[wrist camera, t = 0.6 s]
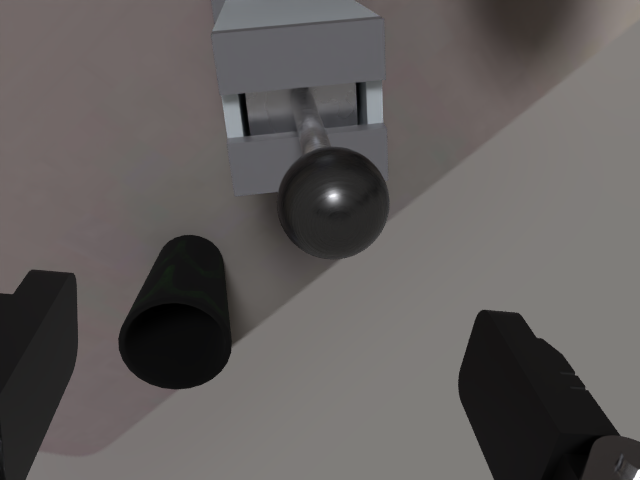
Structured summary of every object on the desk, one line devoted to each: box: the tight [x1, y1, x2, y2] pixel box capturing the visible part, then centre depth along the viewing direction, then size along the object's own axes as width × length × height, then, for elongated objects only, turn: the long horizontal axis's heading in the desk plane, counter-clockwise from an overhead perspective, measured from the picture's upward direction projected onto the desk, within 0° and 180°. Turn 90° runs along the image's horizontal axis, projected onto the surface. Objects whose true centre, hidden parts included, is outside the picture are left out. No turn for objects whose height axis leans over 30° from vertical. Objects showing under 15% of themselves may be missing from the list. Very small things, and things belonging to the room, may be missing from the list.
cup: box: [118, 235, 232, 389], centre depth 48 cm, size 8×8×12 cm
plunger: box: [245, 83, 389, 259], centre depth 26 cm, size 6×6×17 cm
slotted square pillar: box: [211, 0, 388, 196], centre depth 38 cm, size 10×10×18 cm
